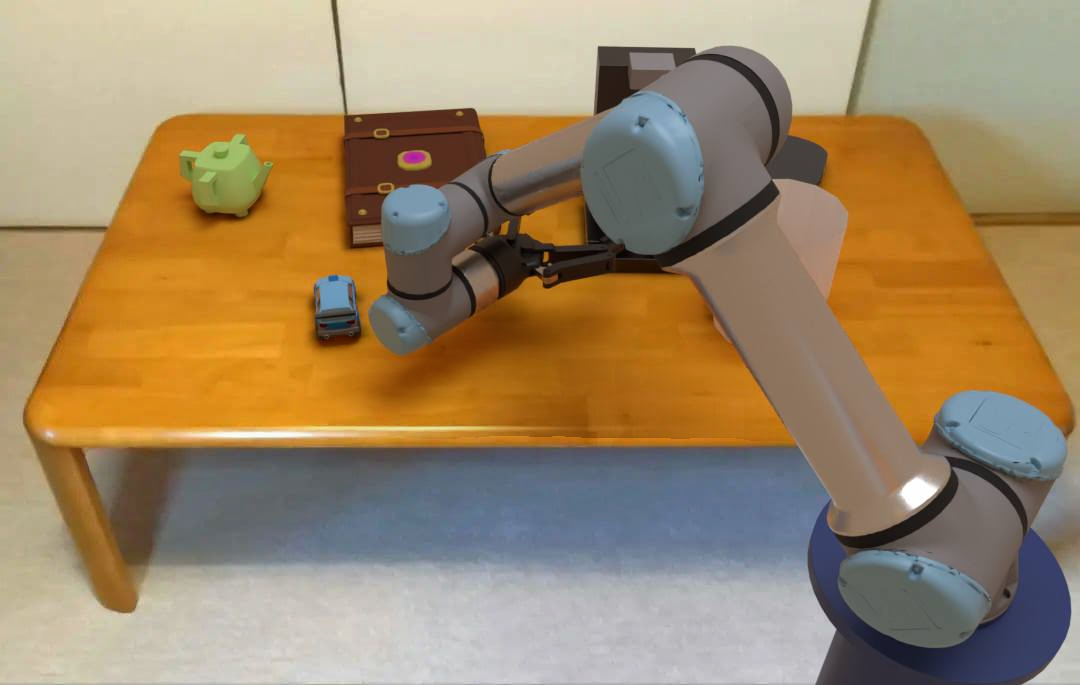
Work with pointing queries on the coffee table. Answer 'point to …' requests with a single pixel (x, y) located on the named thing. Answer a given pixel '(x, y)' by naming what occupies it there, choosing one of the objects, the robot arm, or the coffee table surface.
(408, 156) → the book
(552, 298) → the coffee table surface
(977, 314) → the coffee table surface
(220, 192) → the teapot
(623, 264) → the drip pan
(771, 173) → the media streaming box
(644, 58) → the column
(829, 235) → the container
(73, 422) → the coffee table surface
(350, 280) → the toy car
